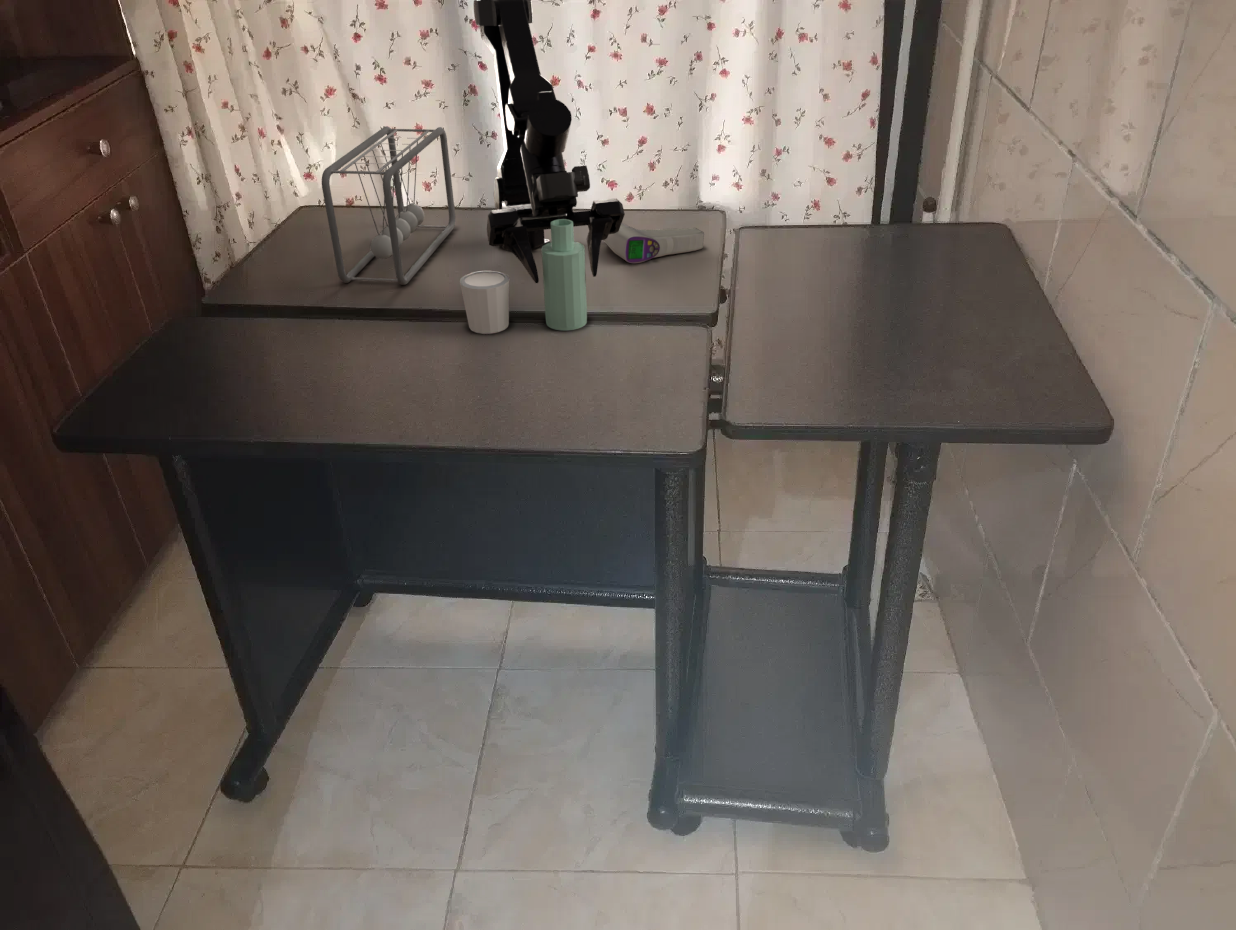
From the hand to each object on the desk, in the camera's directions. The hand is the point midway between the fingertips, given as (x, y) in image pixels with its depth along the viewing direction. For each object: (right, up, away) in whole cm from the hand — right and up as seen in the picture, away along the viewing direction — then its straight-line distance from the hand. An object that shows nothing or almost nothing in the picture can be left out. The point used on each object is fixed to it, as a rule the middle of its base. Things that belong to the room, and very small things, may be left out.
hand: (566, 278), depth 131 cm
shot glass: (-11, -6, +4) cm, 13 cm away
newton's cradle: (-29, +10, +29) cm, 42 cm away
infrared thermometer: (+13, +11, +30) cm, 35 cm away
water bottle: (0, -5, +5) cm, 7 cm away
